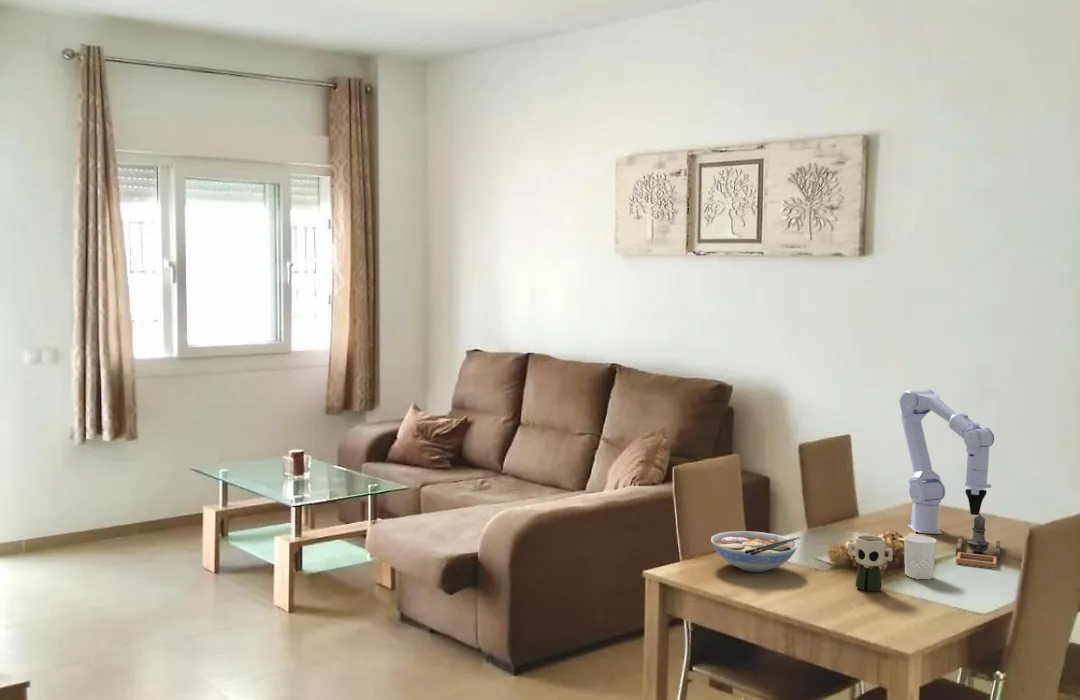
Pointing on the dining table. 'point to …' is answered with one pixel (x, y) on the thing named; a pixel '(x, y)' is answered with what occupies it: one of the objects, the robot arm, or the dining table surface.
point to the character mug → (869, 560)
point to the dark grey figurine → (978, 537)
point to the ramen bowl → (753, 549)
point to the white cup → (919, 556)
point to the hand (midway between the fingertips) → (974, 514)
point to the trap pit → (976, 560)
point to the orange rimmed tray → (960, 542)
